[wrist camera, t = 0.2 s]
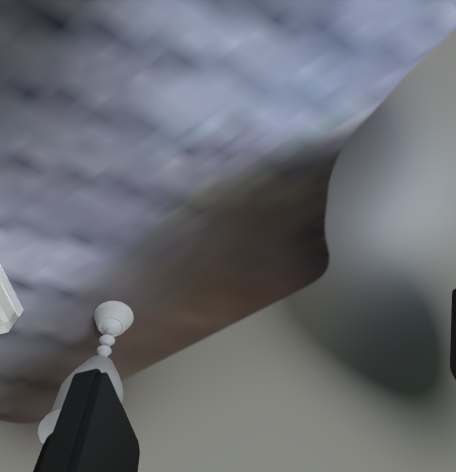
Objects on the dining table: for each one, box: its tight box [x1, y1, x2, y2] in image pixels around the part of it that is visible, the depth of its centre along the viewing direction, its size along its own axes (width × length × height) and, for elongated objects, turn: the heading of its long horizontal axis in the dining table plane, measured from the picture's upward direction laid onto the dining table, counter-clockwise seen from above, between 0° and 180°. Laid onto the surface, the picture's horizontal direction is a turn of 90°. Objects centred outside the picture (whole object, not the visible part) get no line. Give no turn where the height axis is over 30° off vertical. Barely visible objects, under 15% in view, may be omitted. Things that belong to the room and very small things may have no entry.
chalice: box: [38, 301, 134, 444], centre depth 44 cm, size 7×7×18 cm
